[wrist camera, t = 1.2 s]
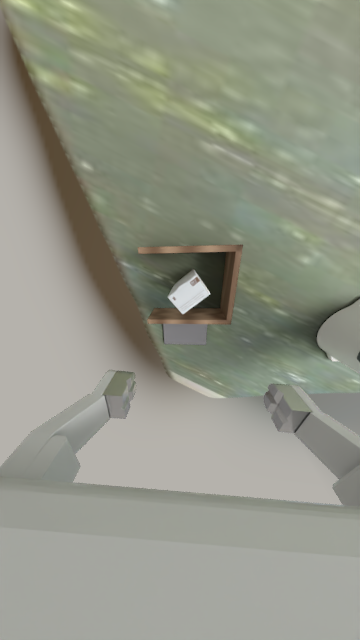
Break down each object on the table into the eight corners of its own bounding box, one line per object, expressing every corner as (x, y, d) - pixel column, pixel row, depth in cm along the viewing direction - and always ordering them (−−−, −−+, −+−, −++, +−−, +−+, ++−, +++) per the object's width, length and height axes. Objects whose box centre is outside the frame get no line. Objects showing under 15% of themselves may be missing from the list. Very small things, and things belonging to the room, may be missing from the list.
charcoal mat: (207, 318, 37) (207, 319, 37) (205, 343, 41) (205, 344, 40) (162, 318, 38) (162, 319, 38) (164, 342, 42) (164, 343, 41)
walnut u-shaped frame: (231, 246, 30) (242, 244, 23) (223, 311, 36) (230, 324, 30) (148, 248, 31) (137, 247, 25) (154, 311, 37) (147, 323, 31)
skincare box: (184, 297, 35) (182, 317, 24) (173, 283, 34) (165, 298, 23) (205, 282, 33) (212, 296, 22) (193, 266, 32) (195, 273, 21)
